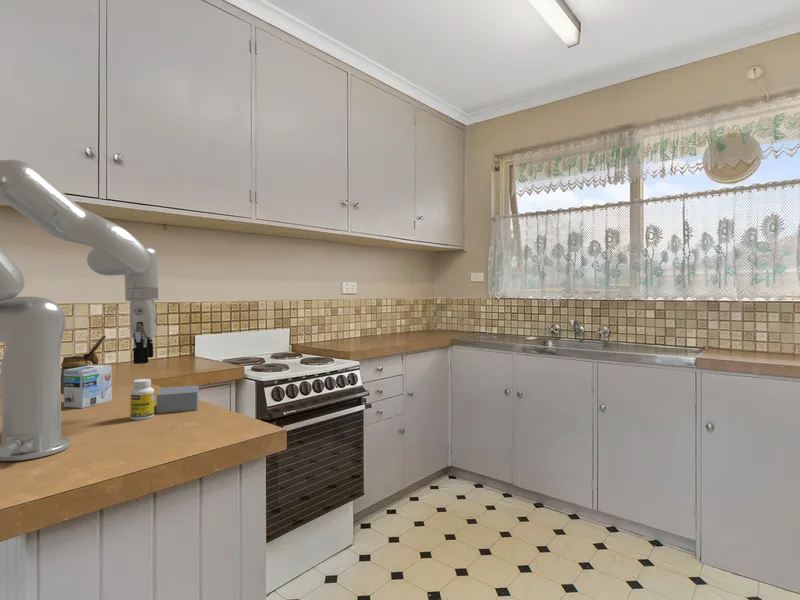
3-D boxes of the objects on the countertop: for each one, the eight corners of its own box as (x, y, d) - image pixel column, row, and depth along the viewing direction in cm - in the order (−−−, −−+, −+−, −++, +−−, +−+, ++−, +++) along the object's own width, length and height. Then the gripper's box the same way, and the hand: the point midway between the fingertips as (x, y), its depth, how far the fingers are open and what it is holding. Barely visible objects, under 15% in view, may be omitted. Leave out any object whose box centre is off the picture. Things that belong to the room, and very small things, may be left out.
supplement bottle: (127, 421, 117) (127, 382, 117) (133, 415, 122) (133, 378, 122) (151, 419, 118) (151, 381, 118) (156, 414, 124) (156, 377, 123)
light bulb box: (82, 408, 129) (82, 370, 129) (62, 407, 131) (62, 369, 131) (113, 400, 140) (112, 364, 140) (94, 399, 141) (94, 364, 141)
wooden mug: (107, 389, 156) (107, 336, 155) (58, 394, 148) (57, 338, 147) (105, 385, 163) (104, 334, 163) (57, 389, 155) (57, 336, 154)
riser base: (197, 410, 128) (197, 392, 128) (156, 413, 124) (156, 395, 124) (198, 402, 137) (198, 385, 137) (161, 405, 133) (160, 387, 133)
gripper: (153, 295, 113) (155, 364, 114) (161, 294, 129) (163, 354, 130) (118, 296, 111) (120, 367, 111) (131, 294, 127) (133, 356, 127)
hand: (143, 360), depth 121 cm, fingers open, 9 cm apart
